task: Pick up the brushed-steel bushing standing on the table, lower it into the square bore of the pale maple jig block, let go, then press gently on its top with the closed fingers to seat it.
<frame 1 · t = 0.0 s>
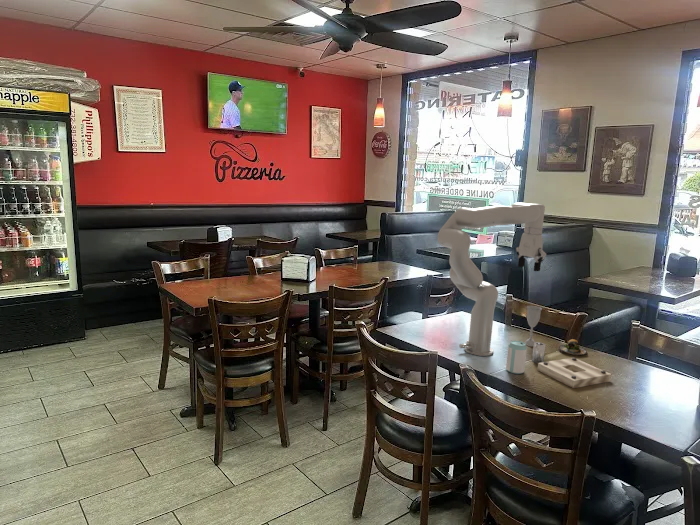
hand: (528, 268, 220), 37 cm above the table, tool pointing down, fingers open, 9 cm apart
can: (514, 371, 197), on the table
jig: (573, 375, 195), on the table
bushing: (537, 361, 208), on the table
burger: (572, 353, 222), on the table
chalice: (529, 344, 229), on the table
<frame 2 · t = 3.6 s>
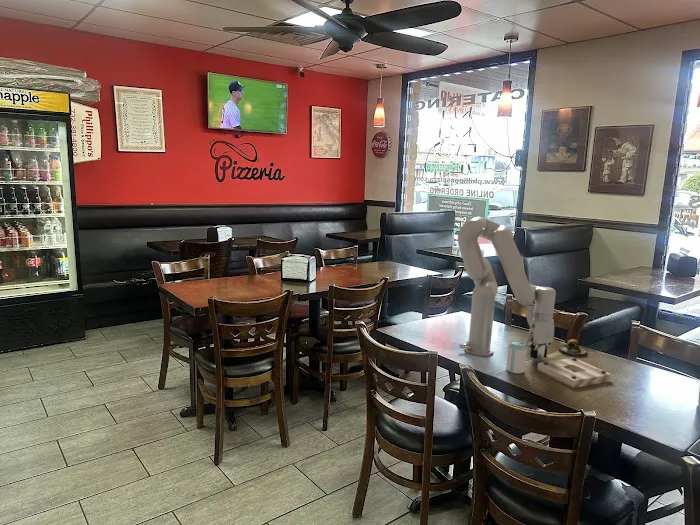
hand: (538, 356, 207), 2 cm above the table, tool pointing down, fingers closed on bushing, 4 cm apart
bushing: (537, 361, 208), on the table, touching gripper
everything else where it was.
when the fingers open (4 cm above the table, at t = 9.4 s): bushing drops 2 cm, resting in jig.
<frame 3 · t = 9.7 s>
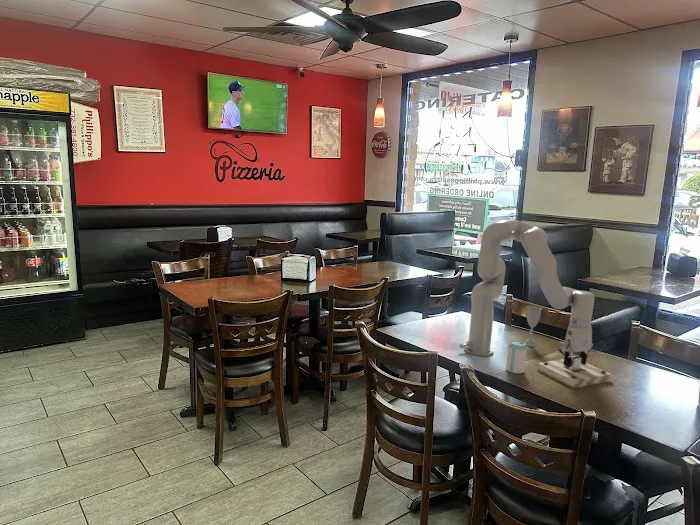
hand: (574, 364, 194), 5 cm above the table, tool pointing down, fingers open, 7 cm apart
bushing: (572, 375, 195), resting in jig
everything else where it was.
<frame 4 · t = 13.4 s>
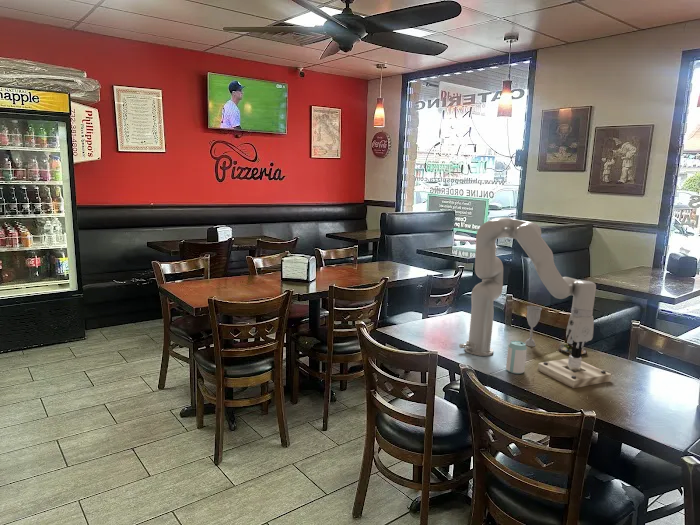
hand: (575, 356, 193), 8 cm above the table, tool pointing down, fingers closed
bushing: (572, 375, 195), resting in jig, touching gripper
everything else where it was.
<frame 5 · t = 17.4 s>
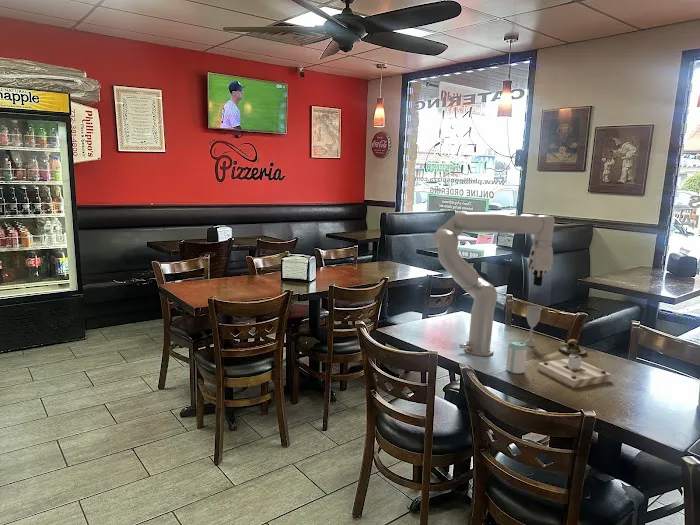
hand: (537, 285, 213), 31 cm above the table, tool pointing down, fingers closed
bushing: (572, 375, 195), resting in jig
everything else where it was.
at the end: bushing 0.1 cm off-centre on the jig, point 0.0 cm above the jig's base; bushing tilted 0°; the gripper is holding nothing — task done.
